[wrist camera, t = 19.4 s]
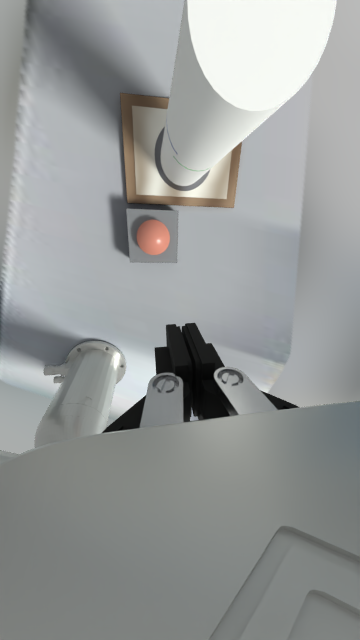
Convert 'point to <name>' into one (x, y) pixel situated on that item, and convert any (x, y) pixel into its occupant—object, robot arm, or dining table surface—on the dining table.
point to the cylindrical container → (236, 74)
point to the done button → (153, 237)
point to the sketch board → (145, 162)
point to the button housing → (141, 215)
